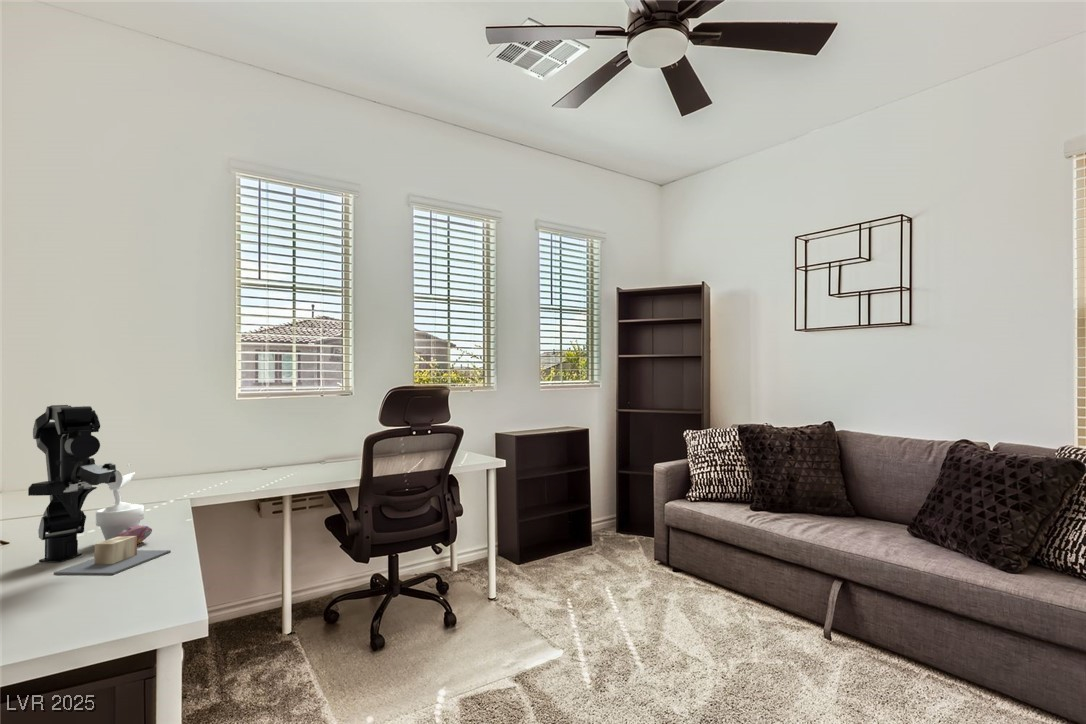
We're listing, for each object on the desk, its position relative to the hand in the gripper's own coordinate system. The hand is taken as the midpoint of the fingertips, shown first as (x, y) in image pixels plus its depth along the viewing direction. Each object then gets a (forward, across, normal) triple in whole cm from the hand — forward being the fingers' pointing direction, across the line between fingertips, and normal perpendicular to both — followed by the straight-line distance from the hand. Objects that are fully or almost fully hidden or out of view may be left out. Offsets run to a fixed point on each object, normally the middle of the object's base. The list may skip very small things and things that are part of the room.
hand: (74, 517), depth 139 cm
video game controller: (+13, +20, +2) cm, 24 cm away
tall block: (+10, +2, -6) cm, 12 cm away
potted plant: (+13, +25, +10) cm, 30 cm away
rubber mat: (+13, +5, -7) cm, 15 cm away
